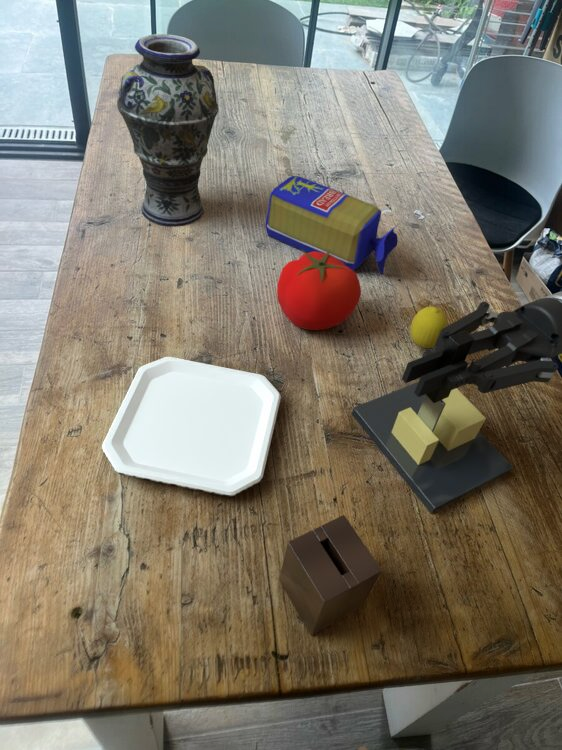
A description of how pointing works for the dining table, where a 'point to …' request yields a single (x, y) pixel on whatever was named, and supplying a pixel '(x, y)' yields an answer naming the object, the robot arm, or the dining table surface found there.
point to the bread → (327, 223)
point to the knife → (433, 401)
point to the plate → (194, 426)
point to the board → (445, 468)
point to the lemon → (427, 326)
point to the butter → (458, 421)
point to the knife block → (328, 574)
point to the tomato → (317, 291)
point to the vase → (169, 125)
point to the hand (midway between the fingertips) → (413, 379)
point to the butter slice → (414, 436)
